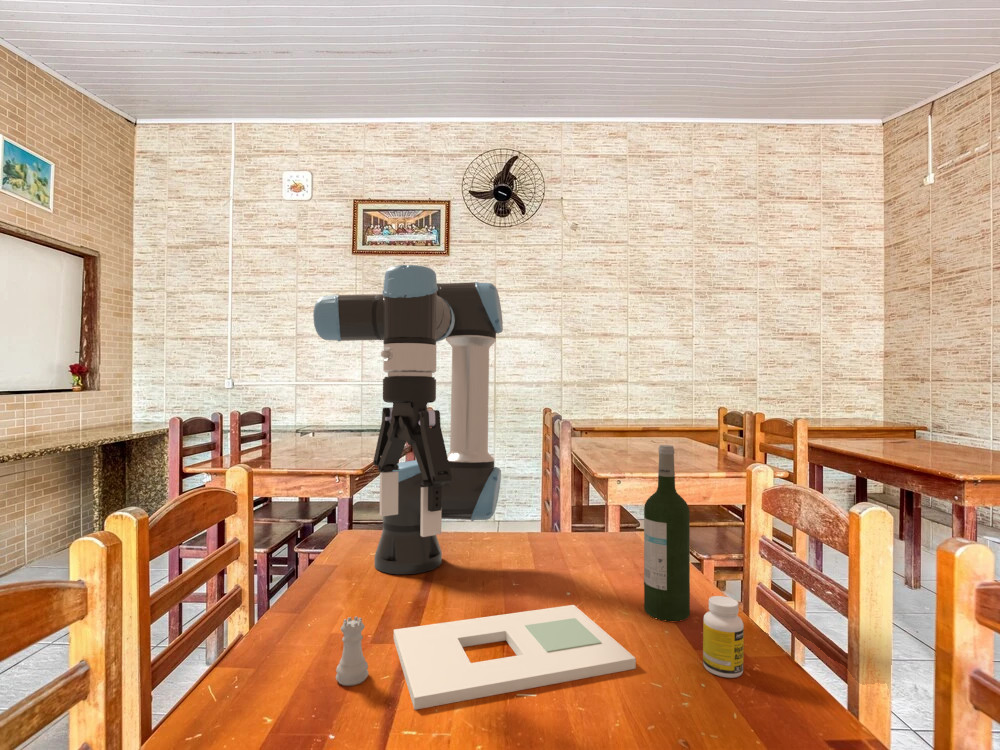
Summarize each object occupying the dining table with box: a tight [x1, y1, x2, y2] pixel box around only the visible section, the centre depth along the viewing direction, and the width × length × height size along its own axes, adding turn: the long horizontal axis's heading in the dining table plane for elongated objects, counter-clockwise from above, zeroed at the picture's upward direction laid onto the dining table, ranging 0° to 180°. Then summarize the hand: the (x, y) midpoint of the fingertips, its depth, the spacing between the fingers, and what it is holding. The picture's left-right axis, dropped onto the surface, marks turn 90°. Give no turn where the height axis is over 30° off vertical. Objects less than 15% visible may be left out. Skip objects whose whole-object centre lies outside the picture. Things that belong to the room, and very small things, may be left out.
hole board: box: [393, 604, 637, 711], centre depth 83 cm, size 20×32×2 cm, turn 108°
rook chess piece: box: [335, 616, 369, 687], centre depth 75 cm, size 4×4×8 cm
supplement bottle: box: [702, 595, 745, 679], centre depth 78 cm, size 5×5×10 cm
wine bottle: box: [643, 444, 691, 622], centre depth 98 cm, size 8×8×30 cm
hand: (408, 524), depth 77 cm, fingers open, 13 cm apart
